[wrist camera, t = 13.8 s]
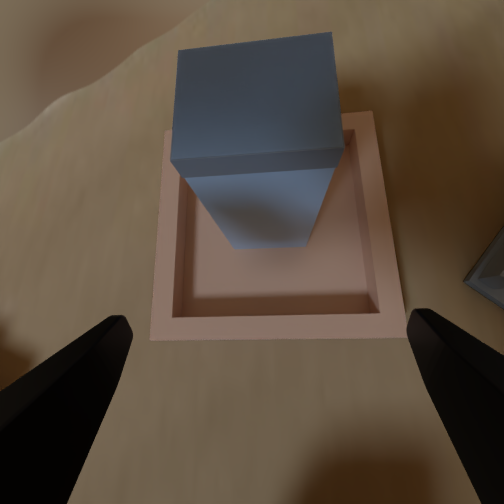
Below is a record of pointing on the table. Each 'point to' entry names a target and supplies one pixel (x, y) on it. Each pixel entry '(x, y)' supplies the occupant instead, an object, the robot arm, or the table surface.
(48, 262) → the table surface
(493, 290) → the bay
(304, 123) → the tall square pillar
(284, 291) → the tray
